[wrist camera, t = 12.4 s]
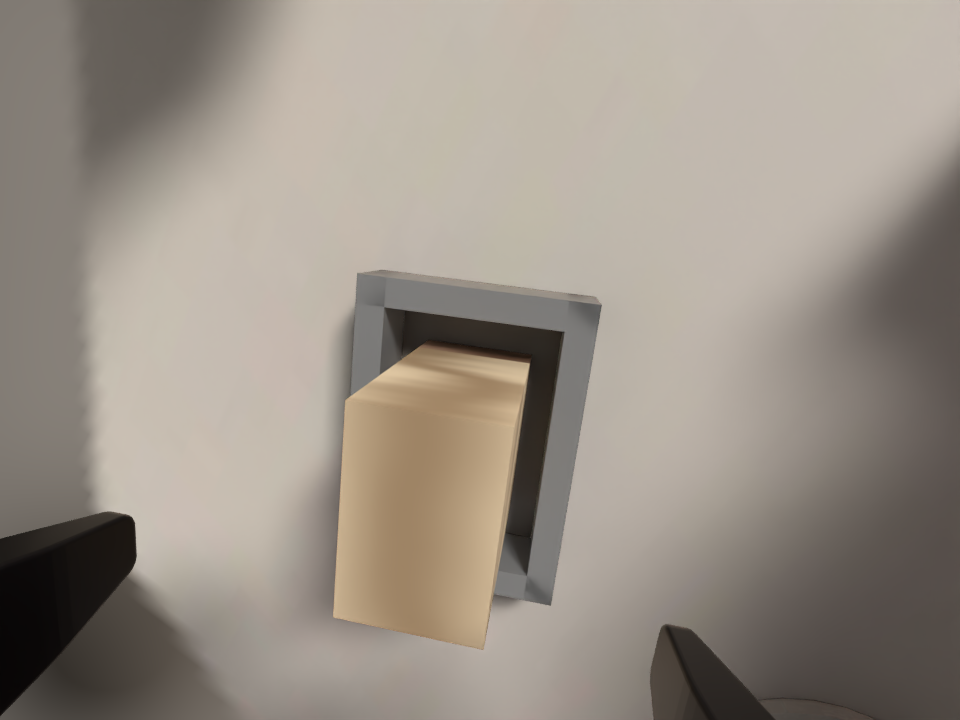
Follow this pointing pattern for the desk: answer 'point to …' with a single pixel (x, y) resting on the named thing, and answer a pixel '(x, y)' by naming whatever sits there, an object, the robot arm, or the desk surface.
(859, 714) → the mate gourd
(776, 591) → the desk surface
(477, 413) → the block
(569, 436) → the collar
